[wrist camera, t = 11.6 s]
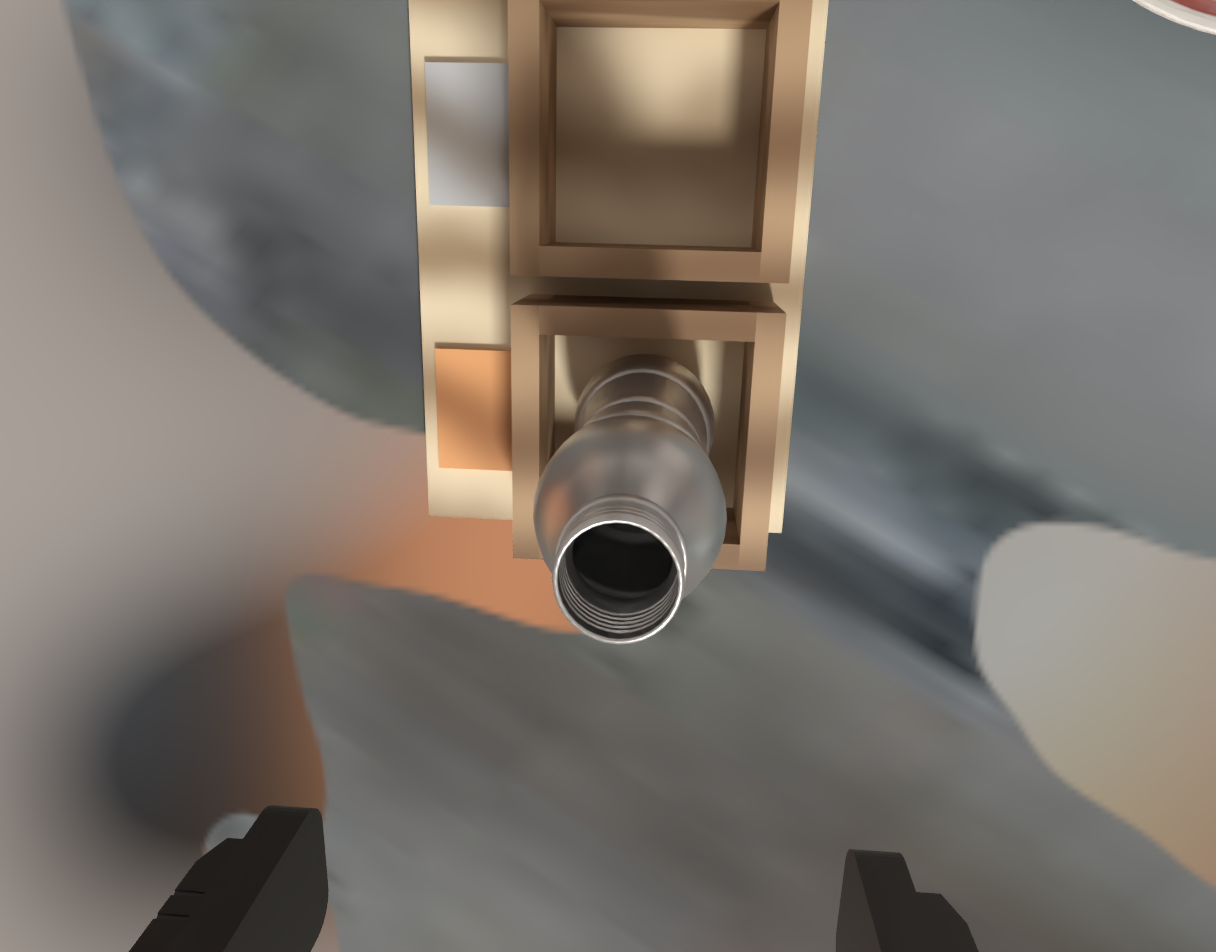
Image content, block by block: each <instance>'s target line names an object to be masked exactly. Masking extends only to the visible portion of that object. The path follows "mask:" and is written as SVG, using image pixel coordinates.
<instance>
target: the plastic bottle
mask: <svg viewBox="0 0 1216 952" xmlns="http://www.w3.org/2000/svg"><path fill="white" fill-rule="evenodd" d="M714 431H715V421H714V412H713V408H712V405H711V401H710V398H709V396H708V394H707V392H706V390H705V389H704V387H703V385H702V384H701V383H700V381H699V380H698V379H697V378H696V376H695V375H694V374H692V373H691V372H690V371H689V370H688V369H687V368H685V367H684V366H683V365H681V364H679V363H677V362H675V361H673V360H672V359H669V358H666V357H662V356H659V355H652V354H637V355H629V356H626V357H623V358H620V359H617V360H615V361H613V362H611V363H609V364H608V365H606V366H604V367H603V368H602V369H601V370H599V371H598V372H597V373H596V374H595V375H594V376H593V377H592V378H591V380H590V381H589V382H588V384H587V385H586V386H585V388H584V390H583V392H582V394H581V396H580V398H579V400H578V404H577V408H576V412H575V424H574V434H573V435H572V436H571V437H569V438H568V439H567V440H566V441H565V442H564V443H563V444H562V445H561V446H560V448H559V449H558V450H557V451H556V452H555V454H554V455H553V456H552V458H551V459H550V460H549V462H548V463H547V464H546V466H545V468H544V471H543V473H542V475H541V477H540V479H539V481H538V485H537V489H536V493H535V496H534V507H533V521H534V528H535V535H536V538H537V541H538V544H539V547H540V550H541V553H542V556H543V558H544V561H545V563H546V565H547V566H548V568H549V570H550V571H551V573H552V582H553V589H554V594H555V597H556V600H557V603H558V606H559V608H560V609H561V611H562V613H563V614H564V616H565V617H566V618H567V619H568V620H569V622H570V623H571V624H572V625H573V626H574V627H575V628H577V629H578V630H579V631H580V632H582V633H583V634H585V635H587V636H589V637H591V638H593V639H595V640H598V641H602V642H605V643H612V644H630V643H635V642H638V641H642V640H645V639H647V638H649V637H651V636H653V635H655V634H656V633H657V632H659V631H660V630H661V629H663V628H664V627H665V626H666V625H667V624H668V623H669V621H670V620H671V619H672V618H673V616H674V614H675V613H676V611H677V609H678V607H679V605H680V603H681V600H682V599H683V598H684V597H686V596H687V595H688V594H690V593H691V592H692V591H693V590H694V589H695V588H696V587H697V586H698V585H699V583H700V582H701V581H702V580H703V579H704V578H705V576H706V575H707V574H708V573H709V571H710V570H711V568H712V566H713V564H714V563H715V561H716V559H717V557H718V556H719V553H720V550H721V547H722V544H723V541H724V538H725V531H726V522H727V514H726V501H725V497H724V493H723V490H722V486H721V483H720V480H719V478H718V475H717V472H716V471H715V469H714V467H713V465H712V463H711V461H710V459H709V457H708V456H709V453H710V450H711V447H712V444H713V440H714Z"/></svg>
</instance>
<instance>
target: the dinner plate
mask: <svg viewBox="0 0 1216 952" xmlns="http://www.w3.org/2000/svg"><path fill="white" fill-rule="evenodd" d="M1133 1H1134V2H1136V3H1138V4H1139V5H1141V6H1143V7H1144V8H1146V9H1148V10H1150V11H1152V12H1154V13H1156V14H1158V15H1160V16H1162V17H1165V18H1167V19H1169V20H1171V21H1174V22H1176V23H1178V24H1181V25H1184V26H1187V27H1190V28H1193V29H1196V30H1199V31H1202V32H1206V33H1210V34H1214V35H1216V0H1133Z"/></svg>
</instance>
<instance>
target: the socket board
mask: <svg viewBox="0 0 1216 952" xmlns="http://www.w3.org/2000/svg"><path fill="white" fill-rule="evenodd" d="M828 1H829V0H409V23H410V49H411V74H412V99H413V124H414V149H415V174H416V200H417V225H418V250H419V275H420V300H421V325H422V350H423V376H424V401H425V426H426V451H427V476H428V501H429V516H445V517H466V518H487V519H507V520H513V558H523V559H542V560H544V558H543V556H542V553H541V550H540V547H539V544H538V541H537V538H536V535H535V528H534V521H533V507H534V496H535V493H536V489H537V485H538V481H539V479H540V477H541V475H542V473H543V471H544V468H545V466H546V464H547V463H548V462H549V460H550V459H551V458H552V456H553V455H554V454H555V452H556V451H557V450H558V449H559V448H560V446H561V445H562V444H563V443H564V442H565V441H566V440H567V439H568V438H569V437H571V436H572V435H573V434H574V424H575V412H576V408H577V404H578V400H579V398H580V396H581V394H582V392H583V390H584V388H585V386H586V385H587V384H588V382H589V381H590V380H591V378H592V377H593V376H594V375H595V374H596V373H597V372H598V371H599V370H601V369H602V368H603V367H604V366H606V365H608V364H609V363H611V362H613V361H615V360H617V359H620V358H623V357H626V356H629V355H637V354H652V355H659V356H662V357H666V358H669V359H672V360H673V361H675V362H677V363H679V364H681V365H683V366H684V367H685V368H687V369H688V370H689V371H690V372H691V373H692V374H694V375H695V376H696V378H697V379H698V380H699V381H700V383H701V384H702V385H703V387H704V389H705V390H706V392H707V394H708V396H709V398H710V401H711V405H712V408H713V412H714V421H715V431H714V440H713V444H712V447H711V450H710V453H709V456H708V457H709V459H710V461H711V463H712V465H713V467H714V469H715V471H716V472H717V475H718V478H719V480H720V483H721V486H722V490H723V493H724V497H725V501H726V514H727V522H726V531H725V538H724V541H723V544H722V547H721V550H720V553H719V556H718V557H717V559H716V561H715V563H714V564H713V566H712V568H715V569H735V570H754V571H765V566H766V554H767V542H768V532H772V533H782V523H783V511H784V500H785V489H786V477H787V466H788V455H789V443H790V432H791V421H792V409H793V398H794V387H795V375H796V364H797V353H798V341H799V330H800V319H801V307H802V296H803V285H804V273H805V262H806V251H807V239H808V228H809V217H810V205H811V194H812V183H813V171H814V160H815V148H816V137H817V126H818V114H819V103H820V92H821V80H822V69H823V58H824V46H825V35H826V24H827V12H828Z"/></svg>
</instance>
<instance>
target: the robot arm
mask: <svg viewBox="0 0 1216 952" xmlns="http://www.w3.org/2000/svg"><path fill="white" fill-rule="evenodd" d="M327 903H328V879H327V868H326V856H325V845H324V833H323V822H322V816H321V813H320V811H319V810H318V809H316V808H302V807H289V806H275V805H270V806H268V807H266V808H265V809H264V810H263V811H262V812H261V814H260V815H259V817H258V818H257V820H256V821H255V822H254V824H253V825H252V827H251V828H250V830H249V831H248V832H247V834H246V835H245V837H244V838H243V839H234V838H227V839H225V840H224V841H223V842H221V843H220V844H219V845H217V846H216V847H215V848H213V849H212V850H211V851H209V852H208V853H207V854H205V855H204V856H203V857H201V858H200V859H199V860H197V861H196V862H195V864H194V865H193V866H192V868H191V869H190V870H189V872H188V873H187V874H186V876H185V877H184V878H183V880H182V881H181V882H180V884H179V885H178V886H177V888H176V889H175V893H174V895H171V896H170V897H169V899H168V900H167V901H166V903H165V904H164V905H163V907H162V908H161V909H160V911H159V912H158V916H157V918H156V919H153V920H152V921H151V923H150V924H149V925H148V927H147V928H146V929H145V931H144V932H143V933H142V935H141V936H140V937H139V939H138V941H136V943H135V944H134V946H133V947H132V948H131V950H130V951H129V952H311V950H312V948H313V946H314V944H315V942H316V940H317V938H318V936H319V933H320V931H321V928H322V925H323V922H324V918H325V914H326V909H327ZM836 952H978V949H977V947H976V944H975V942H974V939H973V937H972V934H971V932H970V929H969V927H968V925H967V923H966V922H965V921H964V920H963V918H962V917H961V916H960V915H959V914H958V913H957V912H956V911H955V909H954V908H953V907H952V906H951V905H950V904H949V903H948V902H947V901H946V899H945V898H944V897H943V896H942V895H941V894H934V893H921V892H916V890H915V888H914V885H913V882H912V879H911V876H910V873H909V871H908V868H907V865H906V862H905V860H904V857H903V856H902V854H901V853H895V852H881V851H868V850H854V849H850V850H849V851H848V852H847V855H846V860H845V868H844V876H843V884H842V892H841V899H840V907H839V915H838V923H837V932H836Z"/></svg>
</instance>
